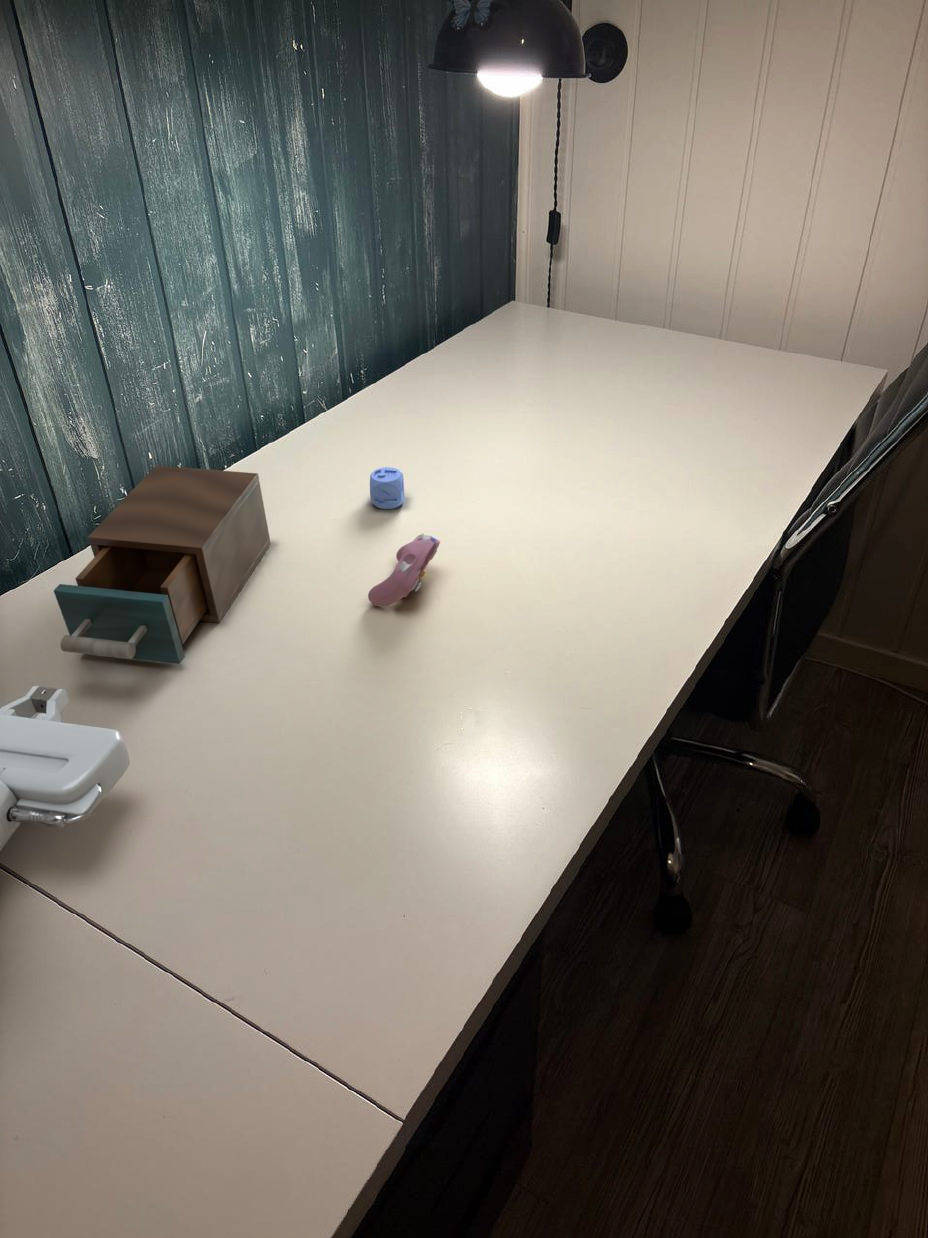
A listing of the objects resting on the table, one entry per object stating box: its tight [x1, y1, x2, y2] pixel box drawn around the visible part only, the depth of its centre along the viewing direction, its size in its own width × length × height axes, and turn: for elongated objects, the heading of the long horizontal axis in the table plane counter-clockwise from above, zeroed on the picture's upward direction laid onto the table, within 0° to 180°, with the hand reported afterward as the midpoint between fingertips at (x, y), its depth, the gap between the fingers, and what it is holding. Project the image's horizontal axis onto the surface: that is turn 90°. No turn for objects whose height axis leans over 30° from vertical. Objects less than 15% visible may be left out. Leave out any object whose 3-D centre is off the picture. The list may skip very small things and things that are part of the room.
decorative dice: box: [369, 466, 405, 510], centre depth 118 cm, size 4×4×4 cm
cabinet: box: [87, 465, 272, 624], centre depth 104 cm, size 16×13×10 cm
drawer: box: [53, 546, 208, 665], centre depth 95 cm, size 19×12×8 cm, turn 169°
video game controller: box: [367, 532, 441, 607], centre depth 102 cm, size 10×5×7 cm, turn 161°
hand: (52, 692), depth 82 cm, fingers closed
